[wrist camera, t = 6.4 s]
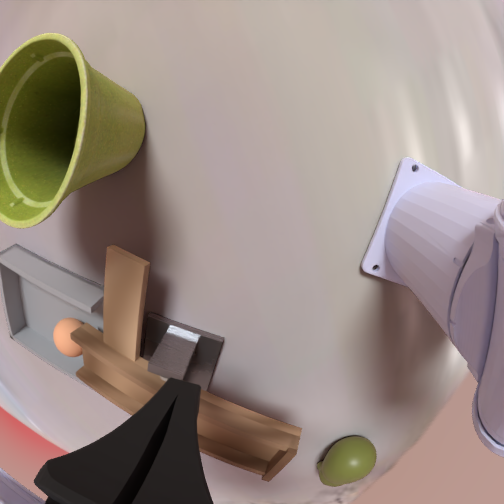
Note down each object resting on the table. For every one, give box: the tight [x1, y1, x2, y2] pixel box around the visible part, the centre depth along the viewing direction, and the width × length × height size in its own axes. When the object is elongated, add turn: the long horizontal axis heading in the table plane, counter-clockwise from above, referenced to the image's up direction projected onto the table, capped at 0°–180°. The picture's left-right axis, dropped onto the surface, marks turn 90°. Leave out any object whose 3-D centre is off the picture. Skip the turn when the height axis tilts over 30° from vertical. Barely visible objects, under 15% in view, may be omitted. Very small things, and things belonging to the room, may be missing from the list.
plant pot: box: [0, 33, 145, 229], centre depth 12 cm, size 9×9×9 cm
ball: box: [53, 318, 83, 357], centre depth 20 cm, size 4×4×4 cm
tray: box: [0, 244, 104, 391], centre depth 21 cm, size 12×10×3 cm
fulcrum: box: [143, 312, 224, 391], centre depth 20 cm, size 6×9×5 cm, turn 163°
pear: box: [317, 436, 376, 487], centre depth 24 cm, size 6×5×10 cm
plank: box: [70, 245, 302, 482], centre depth 16 cm, size 18×13×2 cm
